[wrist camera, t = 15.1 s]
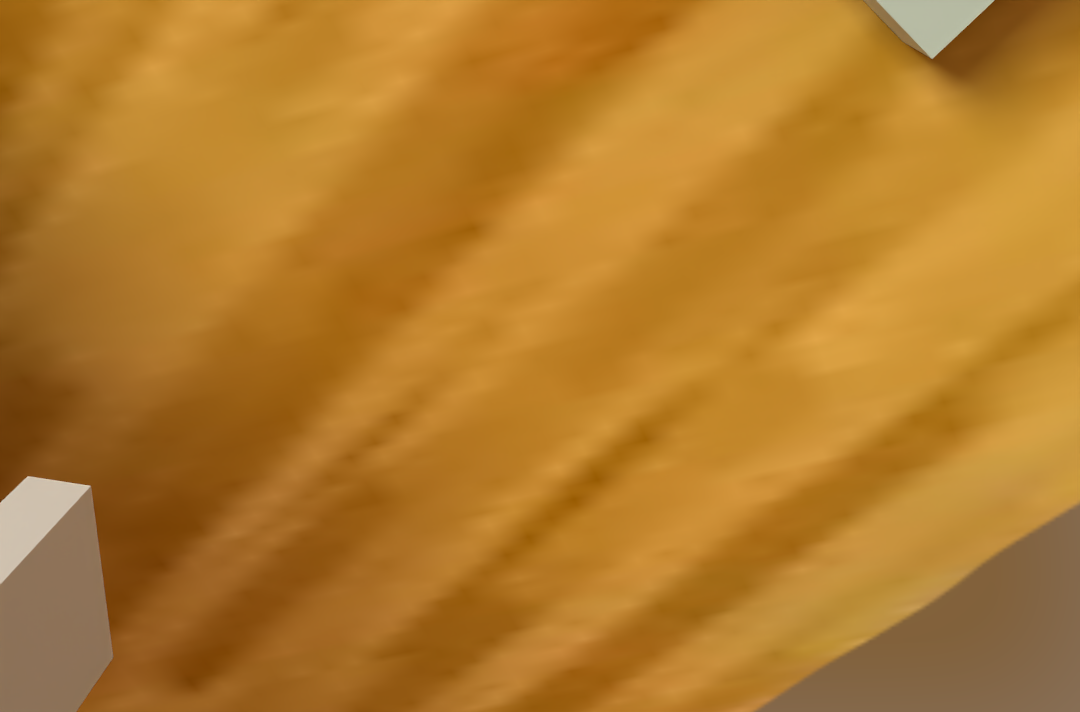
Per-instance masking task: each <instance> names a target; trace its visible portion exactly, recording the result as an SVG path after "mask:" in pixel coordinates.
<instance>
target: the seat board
mask: <svg viewBox="0 0 1080 712" xmlns="http://www.w3.org/2000/svg"><path fill="white" fill-rule="evenodd" d="M863 1H864V2H865V3H866V4H867V5H868V6H869V7H870V8H871V9H872V10H873V11H874V12H875V13H876V14H877V15H878V16H879V17H880V18H881V19H882V20H883V22H884V23H885V24H886V25H887V26H888V27H889V28H890V29H891V30H892V31H893V32H894V33H895V34H896V35H897V36H898V37H899V38H900V39H901V40H902V41H903V42H904V43H906V44H908V45H909V46H911V47H913V48H914V49H916V50H918V51H919V52H921V53H923V54H924V55H926V56H928V57H929V58H931V59H933V58H934V57H935V56H936V55H937V54H938V53H939V52H940V51H941V50H942V49H943V48H944V47H946V46H947V45H948V44H949V43H950V42H951V41H952V40H953V39H954V38H955V37H956V36H957V35H958V34H959V33H960V32H961V31H963V30H964V29H965V28H966V27H967V26H968V25H969V24H970V23H971V22H972V21H973V20H974V19H975V18H976V17H977V16H978V15H980V14H981V13H982V12H983V11H984V10H985V9H986V8H987V7H988V6H989V5H990V4H991V3H992V2H993V1H994V0H863Z"/></svg>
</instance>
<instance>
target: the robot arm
mask: <svg viewBox="0 0 1080 712" xmlns="http://www.w3.org/2000/svg"><path fill="white" fill-rule="evenodd" d="M112 659H113V651H112V643H111V636H110V628H109V620H108V613H107V605H106V597H105V589H104V582H103V574H102V566H101V559H100V551H99V543H98V536H97V528H96V520H95V512H94V505H93V497H92V489H91V486H89V485H82V484H76V483H69V482H63V481H56V480H50V479H43V478H37V477H30V476H27V477H26V478H25V479H24V480H23V481H22V482H21V483H20V484H19V485H18V486H17V487H16V488H15V489H14V490H13V491H12V492H11V493H10V494H9V495H8V496H7V497H6V498H5V499H3V500H2V501H1V502H0V712H76V711H77V710H78V708H79V707H80V705H81V704H82V702H83V701H84V700H85V698H86V697H87V695H88V694H89V692H90V691H91V689H92V688H93V686H94V685H95V683H96V682H97V681H98V679H99V678H100V676H101V675H102V673H103V672H104V670H105V669H106V667H107V666H108V665H109V663H110V662H111V660H112Z"/></svg>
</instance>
